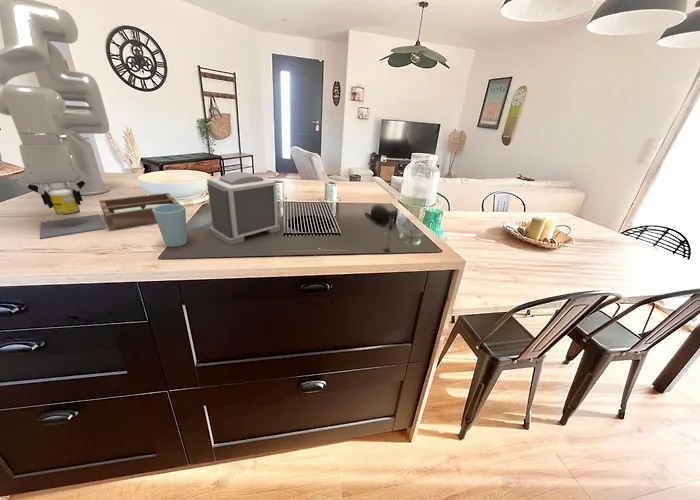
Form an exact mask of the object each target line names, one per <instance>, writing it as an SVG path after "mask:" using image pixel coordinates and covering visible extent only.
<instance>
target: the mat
mask: <svg viewBox="0 0 700 500" xmlns="http://www.w3.org/2000/svg"><path fill="white" fill-rule="evenodd" d="M39 227H40V228H39V239H40V240H45V239H50V238H55V237H56V238H57V237H63V236H69V235H75V234H81V233H88V232H93V231H99V230H105V229H106V227H105V225H104V222H103V219H102V216H101V214H98V213H97V214H90V215H83V216H77V217H76V216H73V217H66V218H62V219H61V218H60V219H53V220H45V221H40V225H39Z"/></svg>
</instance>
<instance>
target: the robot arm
mask: <svg viewBox="0 0 700 500" xmlns="http://www.w3.org/2000/svg"><path fill="white" fill-rule="evenodd" d="M0 28H1V33H2V39H3V40H2V41H3V46H4V47H3V48H2V49H0V114H1V115H4V116H9V117H10V116H11V119H12V122H13V123H14V124H13V125H14V126H15V129H16V132H17V134H18V136H19V139H20V142H21V144H19V145H18V147H19V153H20V157H21V161H22V164H23V167H24V169H25V171H24V172H23V173H22V174H21V176H20V177H19V178H18V179H17V181H16V183H17V184H18V185H19V186H22V187H23V188H26V189H28V190H31V191H33V192H35V193H37V194H39V195H40V197H41V198H42V201H43V204H44V205H45V206H48V208H49V209H52V208H53V206H52V203H51V201H50V198H49V196H48V193H47V192H48V191H47V190H46V184H47V185H48V184H49V183H62V182H67V183H68V184H69V186H71V188H70V189H72V190H73V193H74V196H75V199H76V202H77V204H78V206H81V202H83V200H84V199H83V196H90V195H91V196H93V195H100V194H104V193H107V192H109V191H110V189H111V188H110V186H108V185H107V184H106V185H105V184H104V182H103V178H102V175H101V171H100V168H99V164H98V161H97V158H96V155H95V152H94V148H93V146H92V144H91V143H90V142H89V141H88V140H87V139H86V138H84V136H82V135H81V134H88V135H89V134H96V135H97V134H98V135H101V134H107V133H109V131H110V123H109V118H108V116H107V115H108V114H107V111H106V108H105V104H104V101H103V97H102V93H101V90H100V88H99V85H98V83H97V81H96V79H95V77H93V76H92V75H90V74H89V73H85V72H81V71H80V72H79V71H69V70H68V68H67V65H66V61H65V59H64V56H63V54H62V52H61V51H60V50H59V49H58V48H57V47H56V45H54V43H52V42H55V43H60V44H61V43H62V44H69V45H73V44H74V43H76V42H77V40H78V38H79V30H78V27H77V24H76V21H75V20H74V18H73V16H72V15H71V14H70V13H69V12H68V11H67V10H65V9H62V8H57V7H51V6H45V5H39V4H34V3H31V2H30V3H28V2H23V1H19V0H18V1H17V0H0ZM33 72H34V73H35V76H36V79H37V81H38V85H39V86H31V85H17V84H9V83H8V82H9V81H10V80H12V79H14V78H16V77H19V76H22V75H27V74H30V73H33ZM65 101H66V102H77V103H78V102H81V103H86V104H87V106H86V105H75V104H66V103H65ZM28 180H29V181H30V182H28ZM35 184H36V185H35ZM37 185H38V186H37Z"/></svg>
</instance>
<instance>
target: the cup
mask: <svg viewBox="0 0 700 500" xmlns="http://www.w3.org/2000/svg"><path fill="white" fill-rule="evenodd" d="M180 204H181V203H180ZM180 204H165V205H160V206H157V207H154V208H153V209H152V210H153V213H154V216H155V218H156V221H157V226H158V229H159V231H160V234H161V237H162V240H163V242H164V245H165V246H166V247H172V248H173V247H174V248H175V247H181V246H184V245H185V244H187V242H188V235H187V234H188V233H187V232H188V231H187V218H186V217H187V214H186V212H187V211H186V206H185V205H184V204H181V205H180Z"/></svg>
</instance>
